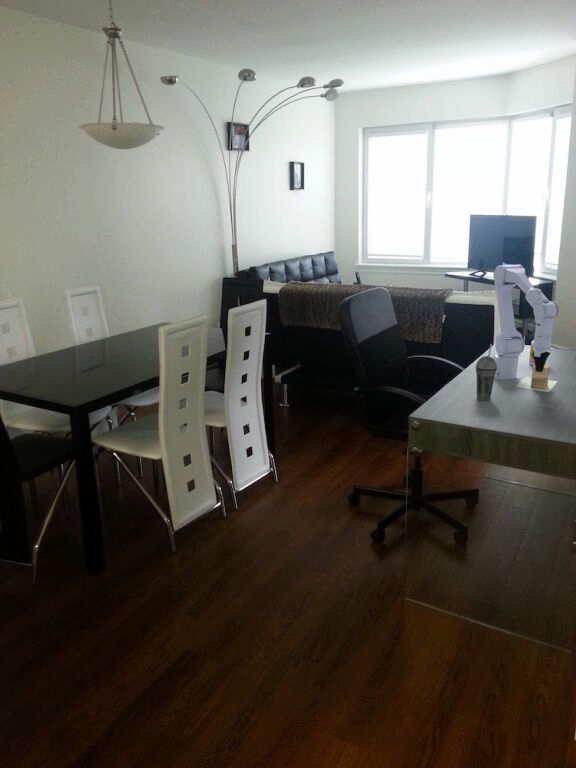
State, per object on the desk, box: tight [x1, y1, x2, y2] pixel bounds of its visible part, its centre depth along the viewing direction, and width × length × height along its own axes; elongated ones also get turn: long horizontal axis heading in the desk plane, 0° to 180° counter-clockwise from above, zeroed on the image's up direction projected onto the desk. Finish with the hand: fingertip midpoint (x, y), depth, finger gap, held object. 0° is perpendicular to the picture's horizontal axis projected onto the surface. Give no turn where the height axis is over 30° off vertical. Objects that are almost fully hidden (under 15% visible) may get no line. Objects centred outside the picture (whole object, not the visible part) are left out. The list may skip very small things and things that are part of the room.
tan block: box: [531, 364, 551, 389], centre depth 230 cm, size 5×5×8 cm
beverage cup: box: [475, 343, 497, 402], centre depth 216 cm, size 7×7×20 cm
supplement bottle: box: [528, 335, 547, 366], centre depth 260 cm, size 7×7×13 cm
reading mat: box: [515, 376, 558, 393], centre depth 234 cm, size 16×12×1 cm
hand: (539, 371), depth 226 cm, fingers closed
